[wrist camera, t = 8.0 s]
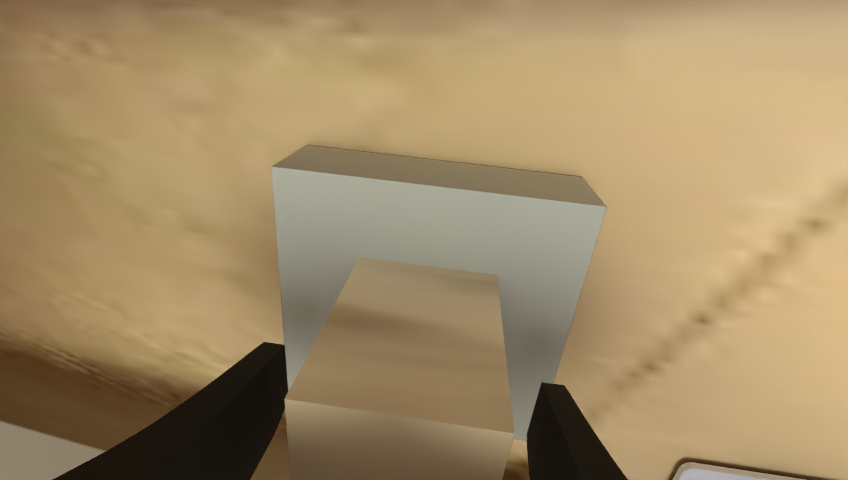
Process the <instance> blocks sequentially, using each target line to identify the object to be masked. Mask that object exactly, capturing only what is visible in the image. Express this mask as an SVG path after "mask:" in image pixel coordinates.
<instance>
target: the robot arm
mask: <svg viewBox="0 0 848 480" xmlns="http://www.w3.org/2000/svg"><path fill="white" fill-rule="evenodd" d="M287 393H288V381H287V367H286V354H285V345H281V344H274V343H267V342H264V343H262V344H261V345H260V346H258V347H257V348H255V349H254V350H253V351H252V352H250V353H249V354H248V355H246V356H245V357H244V358H242V359H241V360H240V361H239V362H237V363H236V364H235V365H233V366H232V367H231V368H230V369H228V370H227V371H226V372H224V373H223V374H222V375H220V376H219V377H218V378H216V379H215V380H214V381H212V382H211V383H210V384H208V385H207V386H206V387H204V388H203V389H202V390H200V391H199V392H198V393H196V394H195V395H194V396H192V397H191V398H189V399H188V400H186V401H185V402H184V403H182V404H181V405H179V406H178V407H176V408H175V409H173V410H172V411H170V412H169V413H168V414H166V415H165V416H163V417H162V418H160V419H159V420H157V421H156V422H154V423H153V424H151V425H149V426H148V427H146V428H145V429H143V430H141V431H140V432H138V433H137V434H135V435H133V436H132V437H130V438H128V439H126V440H125V441H123V442H121V443H120V444H118V445H116V446H115V447H113V448H111V449H109V450H108V451H106V452H104V453H102V454H100V455H98V456H97V457H95V458H93V459H91V460H90V461H87V462H85V463H83V464H81V465H80V466H78V467H76V468H74V469H72V470H70V471H68V472H66V473H65V474H63V475H61V476H59V477H57V478H55V479H53V480H250V479H251V477H252V475H253V473H254V471H255V469H256V468H257V466H258V464H259V462H260V460H261V458H262V456H263V455H264V453H265V451H266V449H267V447H268V445H269V443H270V441H271V440H272V438H273V436H274V434H275V432H276V429H277V427H278V424H279V422H280V419H281V417H282V414H283V412H284V409H285V397H286V395H287ZM527 451H528V466H529V476H530V480H628V479H627V478H626V477H625V475H624V474H623V472H622V471H621V470H620V468H619V467H618V466H617V464H616V463H615V461H614V460H613V458H612V457H611V456H610V454H609V453H608V451H607V450H606V448H605V447H604V446H603V444H602V443H601V441H600V440H599V438H598V437H597V435H596V434H595V432H594V431H593V429H592V428H591V426H590V425H589V423H588V422H587V420H586V419H585V417H584V415H583V414H582V412H581V411H580V409H579V407H578V406H577V404H576V403H575V401H574V400H573V398H572V396H571V395H570V393H569V392H568V390H567V389H566V387H565V386H564V385H558V384H551V383H544V382H541V386H540V389H539V393H538V396H537V400H536V403H535V407H534V410H533V414H532V417H531V420H530V424H529V427H528V431H527ZM673 480H805V479H799V478H792V477H786V476H779V475H773V474H766V473H759V472H753V471H746V470H740V469H733V468H727V467H720V466H713V465H707V464H700V463H694V462H688V463H684V464H682V465H681V466H680V467H679V469H678V471H677V473H676V474H675V476H674V478H673Z"/></svg>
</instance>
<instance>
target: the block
mask: <svg viewBox="0 0 848 480" xmlns="http://www.w3.org/2000/svg"><path fill="white" fill-rule="evenodd" d="M285 412H286V424H287V436H288V448H289V461H290V473H291V480H502V478H503V474H504V471H505V467H506V463H507V459H508V456H509V452H510V448H511V444H512V441H513V437H514V425H513V416H512V407H511V398H510V389H509V380H508V371H507V362H506V353H505V344H504V335H503V325H502V316H501V307H500V298H499V289H498V280H497V275H493V274H485V273H478V272H470V271H462V270H455V269H447V268H439V267H431V266H424V265H416V264H408V263H401V262H393V261H385V260H377V259H370V258H362V257H359V259H358V261H357V263H356V265H355V267H354V269H353V270H352V272H351V274H350V276H349V278H348V280H347V282H346V284H345V286H344V287H343V289H342V291H341V293H340V295H339V297H338V299H337V301H336V303H335V304H334V306H333V308H332V310H331V312H330V314H329V316H328V318H327V320H326V321H325V323H324V325H323V327H322V329H321V331H320V333H319V335H318V337H317V338H316V340H315V342H314V344H313V346H312V348H311V350H310V352H309V354H308V355H307V357H306V359H305V361H304V363H303V365H302V367H301V369H300V371H299V372H298V374H297V376H296V378H295V380H294V382H293V384H292V386H291V387H290V389H289V391H288V393H287V395H286V397H285Z"/></svg>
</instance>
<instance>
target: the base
mask: <svg viewBox="0 0 848 480" xmlns="http://www.w3.org/2000/svg"><path fill="white" fill-rule="evenodd" d="M271 169H272V182H273V196H274V209H275V223H276V236H277V250H278V263H279V277H280V291H281V304H282V318H283V331H284V345H285V354H286V367H287V381H288V391H289V389H290V387H291V386H292V384H293V382H294V380H295V378H296V376H297V374H298V372H299V371H300V369H301V367H302V365H303V363H304V361H305V359H306V357H307V355H308V354H309V352H310V350H311V348H312V346H313V344H314V342H315V340H316V338H317V337H318V335H319V333H320V331H321V329H322V327H323V325H324V323H325V321H326V320H327V318H328V316H329V314H330V312H331V310H332V308H333V306H334V304H335V303H336V301H337V299H338V297H339V295H340V293H341V291H342V289H343V287H344V286H345V284H346V282H347V280H348V278H349V276H350V274H351V272H352V270H353V269H354V267H355V265H356V263H357V261H358V259H359V257H362V258H370V259H377V260H385V261H393V262H401V263H408V264H416V265H424V266H431V267H439V268H447V269H455V270H462V271H470V272H478V273H485V274H493V275H497V280H498V289H499V298H500V307H501V316H502V325H503V335H504V344H505V353H506V362H507V371H508V380H509V389H510V398H511V407H512V416H513V425H514V437H513V439H515V440H522V441H527V431H528V427H529V424H530V420H531V417H532V414H533V410H534V407H535V403H536V400H537V396H538V393H539V389H540V386H541V382H544V383H551V384H553V382H554V379H555V375H556V372H557V369H558V366H559V362H560V359H561V356H562V352H563V349H564V346H565V343H566V339H567V336H568V333H569V329H570V326H571V323H572V320H573V316H574V313H575V310H576V306H577V303H578V300H579V297H580V293H581V290H582V287H583V283H584V280H585V277H586V274H587V270H588V267H589V264H590V261H591V257H592V254H593V251H594V247H595V244H596V241H597V238H598V234H599V231H600V228H601V224H602V221H603V218H604V215H605V211H606V208H607V206H606V205H605V204H604V203H603V202H602V200H601V199H600V198H599V197H598V196H597V194H596V193H595V192H594V191H593V190H592V188H591V187H590V186H589V185H588V184H587V183H586V181H585V180H584V179H583V178H582V177H578V176H569V175H561V174H552V173H544V172H535V171H526V170H518V169H509V168H501V167H492V166H483V165H475V164H466V163H458V162H449V161H440V160H432V159H423V158H415V157H406V156H398V155H389V154H380V153H372V152H363V151H355V150H346V149H337V148H329V147H320V146H312V145H306V146H305V147H303V148H301V149H300V150H298V151H296V152H295V153H293V154H291V155H290V156H288V157H286V158H285V159H283V160H281V161H280V162H278V163H276V164H275V165H273V166H272V167H271Z"/></svg>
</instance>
